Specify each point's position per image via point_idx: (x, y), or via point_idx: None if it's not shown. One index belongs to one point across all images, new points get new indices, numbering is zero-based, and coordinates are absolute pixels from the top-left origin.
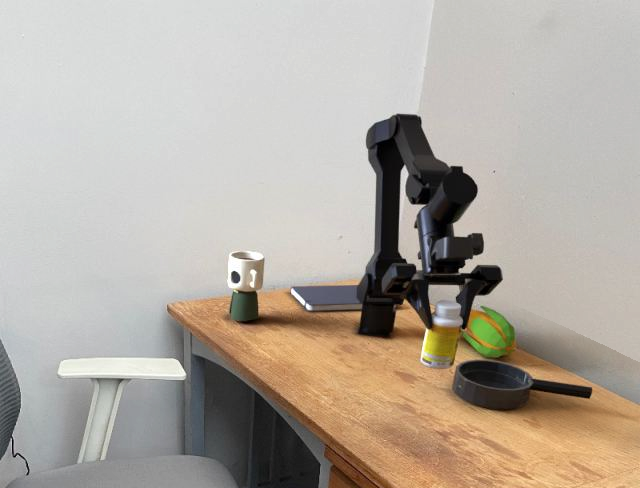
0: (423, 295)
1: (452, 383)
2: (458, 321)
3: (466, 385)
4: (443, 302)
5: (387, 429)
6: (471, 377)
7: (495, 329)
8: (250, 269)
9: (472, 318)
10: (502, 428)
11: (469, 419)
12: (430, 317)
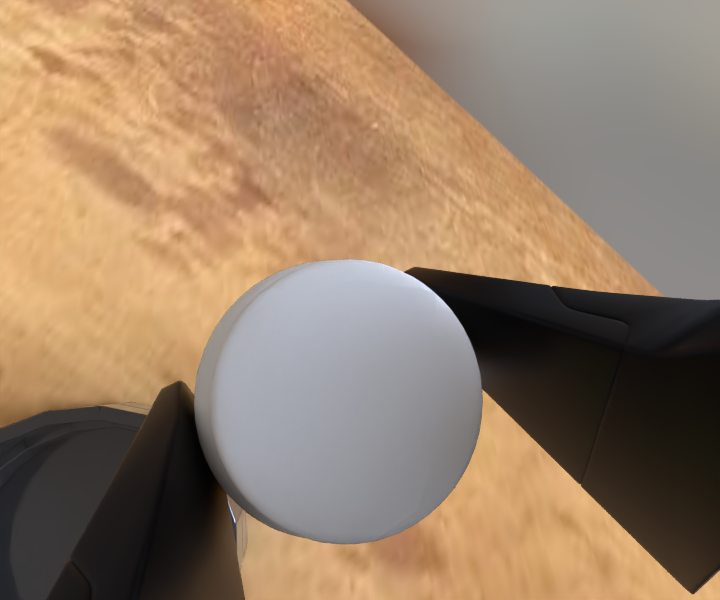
0: (659, 320)
1: (246, 535)
2: (231, 319)
3: None
4: (419, 422)
5: (380, 175)
6: None
7: None
8: None
9: None
10: (82, 286)
11: (183, 306)
12: (445, 281)
